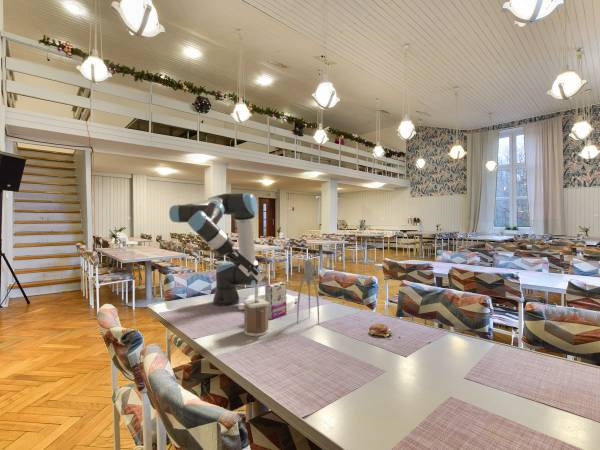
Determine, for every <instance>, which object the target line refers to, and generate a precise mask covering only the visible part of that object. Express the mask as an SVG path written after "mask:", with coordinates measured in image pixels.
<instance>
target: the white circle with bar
mask: <svg viewBox="0 0 600 450" xmlns="http://www.w3.org/2000/svg"><path fill="white" fill-rule="evenodd" d="M258 299H263V300H265V292H261V293H259V292H258ZM248 300H255V293H254V294H250V295H248V296H246V297H245V298H244V301H248ZM295 303H298V295H297V296H293V295H292V294H288V293H286V312H289V311H291V309H292V308H293V309H295V307H296V306H295V305H296V304H295ZM244 305H245V304H244V303H243V302H239V303H237V308H238V310H240V311H242V310H244ZM294 306H295V307H294ZM293 309H292V310H293ZM288 310H289V311H288Z"/></svg>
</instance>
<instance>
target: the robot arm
mask: <svg viewBox="0 0 600 450" xmlns="http://www.w3.org/2000/svg"><path fill="white" fill-rule="evenodd" d="M257 213H258V202H257V198H256V197H255V195H254V194H252V193H246V192H243V193H242V192H241V193H240V192H239V193H238V192H237V193H221V194H217V195H214V196H210V197H209V198H207V199H204V200H200V201H196V202H191V203H187V204H175V205H173V204H172V206H170V208H169V213H168V215H169V219H170V221H171V222H173V223H178V224H180V223H187V224H188V226H189V227H190V228H191V229H192V230H193V231H194V232H195V233H196V234H197V235H198V236H200V237H201V238H202V240H204V241H205V242H206V243H207V246H208V247H211V248H212V250H213V249H214V251H215V252H216V253H217V254H218V255H219V256H221V257H223V256H226V257H227V258H228V259H229V260H230V261H231V262H225V263H220V264H217V266H216V272H215V274H216V275H215V280H216V286H215V287H216V288H215V289H216V290H215V292H214V293H215V294H214V296H213V299H212V300H213V301H212V304H214V305H215V304H217V305H216V306H233V305H237V304H239V303H240V302H239V301H240V300H241V299H240V296H239V293H238V289H237V286H251V287H253V286H255V280H251V274H252V275H253V276H254V277H255V278H256V279H257V280H258V285H259V284H260V282H262V280H263V279H264V278H265V276H264V275H263V273H262V274H261V273H260V272H259V271H258V270H262V271H263V267H262V265H259V262H258V260H257V259H256V252H255V240H254V237H255V236H254V225H253V220H254V219H255V217H256V215H257ZM223 215H227V216H229V215H232V218H233V220H234V221H236V229H237V238H238V239H237V240H238V241H237V243H238V250H239V251H238V250H237V249H234V248H233V247H234V246H235V242H234V241H233V240H232V239H231V237H228V235H227V234H226V233H225V232H224V230H223V229H221V228H220V227H219V226H218V225H217V224H219V222H220V220H221V219H222V217H223ZM236 303H237V304H236ZM232 304H233V305H232Z"/></svg>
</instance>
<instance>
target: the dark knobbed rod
mask: <svg viewBox="0 0 600 450" xmlns="http://www.w3.org/2000/svg"><path fill="white" fill-rule="evenodd" d="M258 271H259V272H260V273H261V274H262V275H263V269H262V270H258ZM251 280H255V285H254V294H255V303H258V294H259V284H258V280H257V279H256V278H255V277H254V276H253V275H252V274H251Z"/></svg>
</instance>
